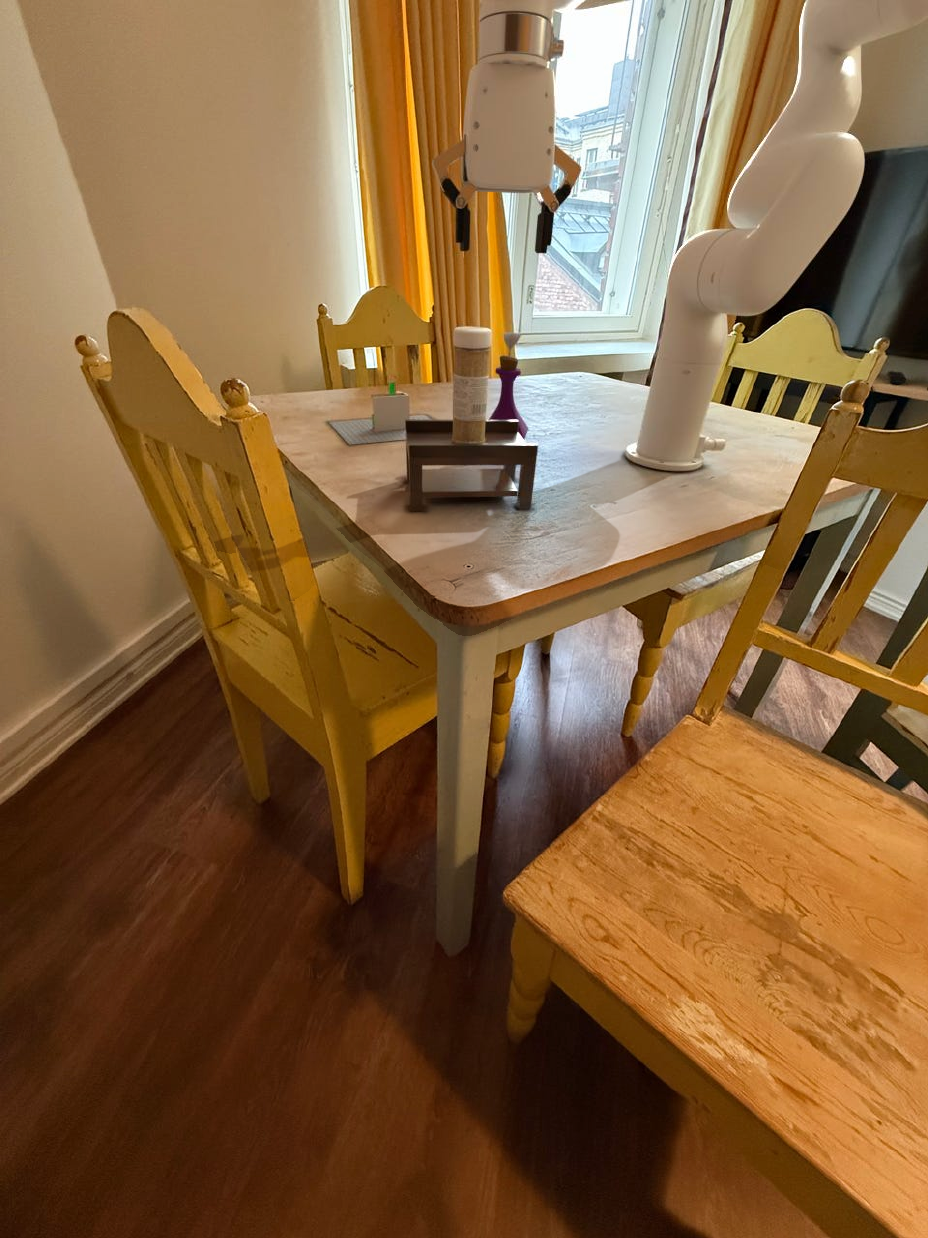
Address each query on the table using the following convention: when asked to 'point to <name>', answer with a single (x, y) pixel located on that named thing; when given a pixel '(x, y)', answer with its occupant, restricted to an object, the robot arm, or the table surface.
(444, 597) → the table surface
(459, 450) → the rack
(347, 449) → the table surface
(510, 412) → the perfume bottle
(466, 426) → the sprinkles bottle
